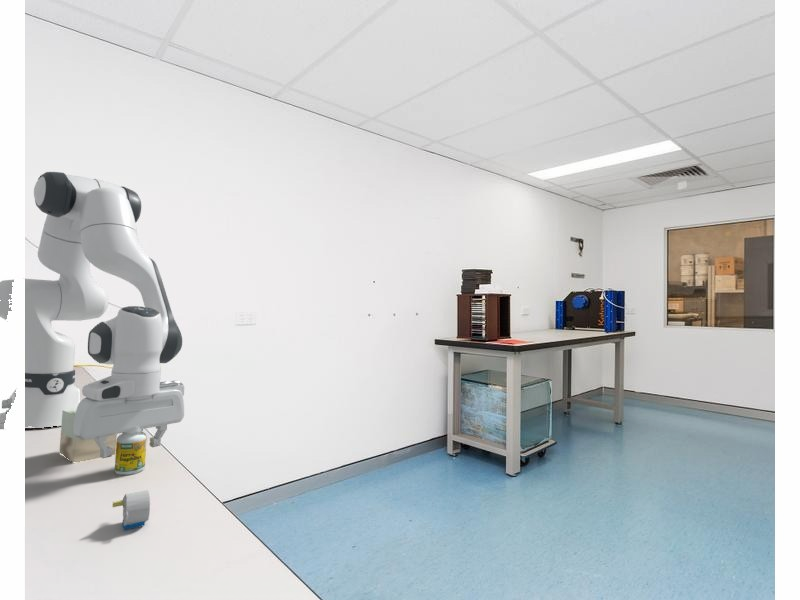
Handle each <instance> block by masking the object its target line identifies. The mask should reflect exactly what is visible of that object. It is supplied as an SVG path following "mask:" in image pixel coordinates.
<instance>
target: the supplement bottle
mask: <svg viewBox="0 0 800 600" xmlns="http://www.w3.org/2000/svg"><path fill="white" fill-rule="evenodd" d="M143 431H144V429H141V428H140V427H139V426H136V427H135V428H134V429H133V430H132V431H129V432H124V433H120V434H119V435H117V438H116V452H115V461H114V462H115V463H114V472H115V473H116V474H117V475H120V476H127V475H128V476H129V475H135V474H137V473H140V472H142V471H144V470H145V468H146V455H147V441H148V440H147V439H148V438H147V434H146V433H145V432H143Z"/></svg>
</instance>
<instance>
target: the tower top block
mask: <svg viewBox="0 0 800 600" xmlns="http://www.w3.org/2000/svg"><path fill="white" fill-rule="evenodd" d="M76 410H77V408H75V409H67V410H63V411H62V424H61V426H60V427H61V428H60V434H61V433H63V434H65V435H67V436H68V437H70V438H72V439H74V440H80V438H79V437H77V436H76V435H75V434H74V432H73V426H74V419H75V414H76Z"/></svg>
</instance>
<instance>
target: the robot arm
mask: <svg viewBox="0 0 800 600" xmlns="http://www.w3.org/2000/svg"><path fill="white" fill-rule="evenodd" d="M33 197H34V202H35V203H34V204H35V205H36V207H37V208H38V209H39V210H40V211H41V212H42V213H44V214H47V215H46V218H45V221H44V223H43V228H42V232H41V236H40V242H39V246H38V250H37V257H38V260H39V262H40V263H41V264H42V266H44V267H46V268H47V269H49V270H51V271H53V272H55V273H57V274H59V279H58V280H57V279H56V280H49V279H48V280H47V279H36V278H35V279H32V278H24V279H25V427H28V426H32V427H35V428H42V429H45V428H44V427H51V428H54V427H53V426H57V427H61V424H62V411H63V410H67V409H75V408H77V410H76V414H75V419H74V426H73V432H74V434H75V435H76V436H77V437H79V438H80V439H83V440H86V439H91V438H95V442H96V443H97V445H98V446H99V448H100V457H101V459H106V458H110V457H112V456H113V455H112V453H111V452H112V448H111V447H109V446H107V447H106V445H105V443H104V442H103V441H107V436H108V435H113V434H117V435H118V434H122V433H124V432H129V431H132V430H133V429H134V428H135V427H136V426H139V427H140V428H141V429H143V430H145V429H151V428H154V427H155V429H157V430H156V431H155V433H154V436H153V437H149V447H151V448H157V447H160V446H161V441H162V437H163V436H164V434H165V433H166V432H167V430H168V425H170V424H171V425H172V424H176V423H181V422H182V421H183V419H184V418H185V402H184V400H185V399H184V395H185V386H184V384H183V383H182V382H180V381H179V380H171V381H161V376H162V375H161V373H162V366H161V364H167V363H169V362H171V361H172V360H173V359H174V358H175V357H177V356H178V354H179V353H180V351H181V349H182V347H183V336H182V333H181V330H180V328H179V326H178V323H177V321H176V320H175V317H174V314H173V311H172V309H171V305H170V301H169V298H168V296H167V292H166V289H165V286H164V282H163V279H162V276H161V273H160V271H159V268H158V266H157V263H156V262H155V261H154V259H153V258H151V257H150V256H148V254H147V253H146V251H144V249H143V247H142V245H141V244H140V241H139V238H138V232H137V225H136V224H137V222H138V221H139V219H140V216H141V214H142V201H141V198H140V196H139V195H138V193H137V192H136V191H134V190H132V189H130V188H128V187H126V186H119V185H117V184H113V183H111V182H108V181H104V180H102V179H101V180H100V179H96V178H90V177H84V176H78V175H72V174H66V173H64V172H60V171H59V172H58V171H46V172H44V173H42V174H40V176H39V177H38V179H37V181H36V182H35V184H34V187H33ZM91 264H92V266H93V267H95V268H97V269H99V270H101V271H102V272H104V273H107V274H108V275H109V274H110V275H112V276H115V277H117V278H120V279H121V280H124V281H126V282H128V283H130V284H131V285H133V286H134V287H135V288H136V289H137V290H138V291H139V293H140V295H141V298H142V302H143V305H144V306H138V305H129V306H124V307H121V308H120V309H119V310H118V312H117V315H116V316H115V317H113V318H111V319H109V320H106V321H100V322H99V323H97V324H96V325H95V326H94V327H93V328H92V329H90V330H89V333H88V337H87V353H88V355H89V356H90V358H92V359H93V360H94V361H95V362H97V363H98V364H103V365H113V366H112V369H111V373H110V374H111V375H109V376H107V377H104V378H102V379H99V380H96V381H94V382H91V383H88V384H85V385H84V386H82V389H81V391H80V388H78V387H77V386H75V382H76V380H75V379H76V377H77V375H76V370H75V369H74V366H75V354H76V344H75V342H74V341H73V340H72V338H70V337H69V336H67V335H65V334H62V333H60V332H57V331H55V330H54V329H53V327H52V322H53V321H70V322H71V321H73V322H74V321H76V322H77V321H78V322H79V321H80V322H81V321H87V320H92V319H93V320H95V319H99V318H100V317H102V316H103V315H104V314H105V313H106V312H107V309H108V307H109V296H108V294H107V292H106V290H105V289H104V288H103V287H101V285H99V284H98V282H96V280H95V279H94V278H93V276H92V273H91V269H90V267H91V266H90V265H91ZM12 282H14V279H6V280H5V279H4V280H2V281H0V300H1V301H0V318H2V319H4V321H6V319H7V315H8V311H12V310H11V307H10V308H9V305H12V303H10V304H9V301H8V300H9V299H10V300H11V299H12V298H11V295H9V294H12V287H13V286H12ZM10 302H12V301H10ZM15 392H16V389H14V390H13V392H12V393H11V395H10V396H9V398H7V399H2V401H1V409H3V410H4V409H5V410H6V411H5V412H4V411H3V412H0V430H5V429H4V423H5V420H6V414H7V412H9V410H10V409H11V406H12V405H11V403H14V400H15V397H16V393H15ZM80 393H81V394H82V396H84V398H82V399H81V394H80ZM80 399H81V400H80Z"/></svg>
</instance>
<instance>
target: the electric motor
mask: <svg viewBox="0 0 800 600" xmlns="http://www.w3.org/2000/svg"><path fill="white" fill-rule="evenodd" d="M150 497H151V496H150V492H149V490H142V491H137V492H129V493H125V494H124V497H122V500H115V501H112V508H117V507H122V527H123V530H124V531H126V530H130V529H134V528H140V527H143V526H142V525H144V526H145V525H146V524H145V523H146V522H147V521H149V518H150V513H151V511H150V510H151V499H150ZM139 526H140V527H139Z"/></svg>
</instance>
